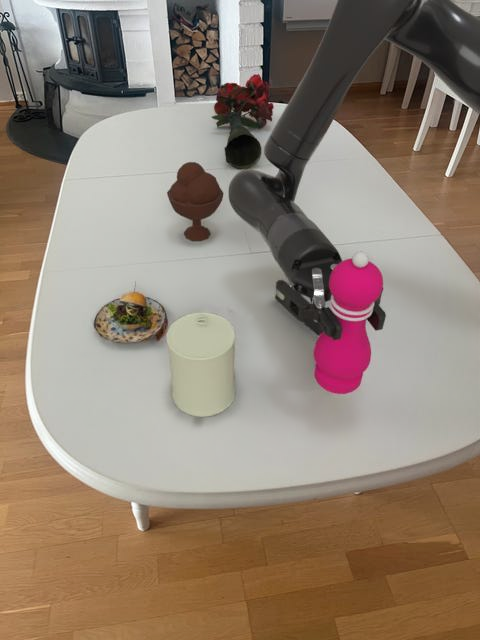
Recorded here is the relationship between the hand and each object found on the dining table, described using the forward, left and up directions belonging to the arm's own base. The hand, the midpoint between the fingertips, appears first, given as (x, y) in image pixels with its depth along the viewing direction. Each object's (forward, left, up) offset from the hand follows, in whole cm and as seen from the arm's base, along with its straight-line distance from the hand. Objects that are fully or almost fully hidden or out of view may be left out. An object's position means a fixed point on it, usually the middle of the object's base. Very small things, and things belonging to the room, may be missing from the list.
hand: (360, 329), depth 60 cm
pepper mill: (-1, -3, -11) cm, 12 cm away
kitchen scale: (-16, -21, -18) cm, 31 cm away
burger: (+14, -35, -18) cm, 42 cm away
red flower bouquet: (-46, -86, -18) cm, 99 cm away
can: (+12, -16, -18) cm, 27 cm away
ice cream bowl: (-10, -53, -18) cm, 56 cm away
